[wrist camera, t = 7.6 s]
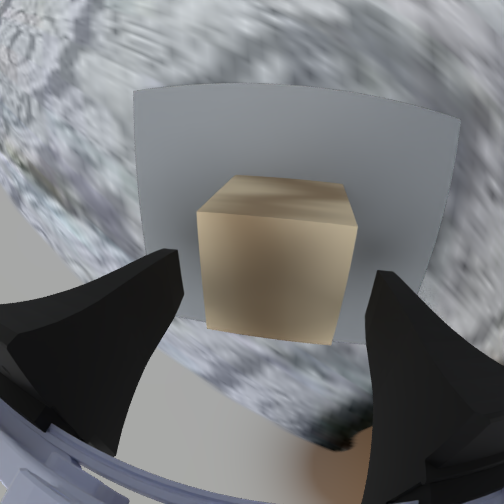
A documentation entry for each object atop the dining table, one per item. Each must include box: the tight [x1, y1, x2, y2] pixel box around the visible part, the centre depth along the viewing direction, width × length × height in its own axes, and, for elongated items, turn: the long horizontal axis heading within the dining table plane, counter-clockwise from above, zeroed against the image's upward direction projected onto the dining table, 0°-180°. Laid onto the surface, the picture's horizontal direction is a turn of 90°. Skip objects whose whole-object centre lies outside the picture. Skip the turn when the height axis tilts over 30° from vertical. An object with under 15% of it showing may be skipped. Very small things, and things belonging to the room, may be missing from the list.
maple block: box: [197, 175, 358, 345], centre depth 12 cm, size 5×5×5 cm
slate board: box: [133, 83, 461, 344], centre depth 15 cm, size 16×14×1 cm
